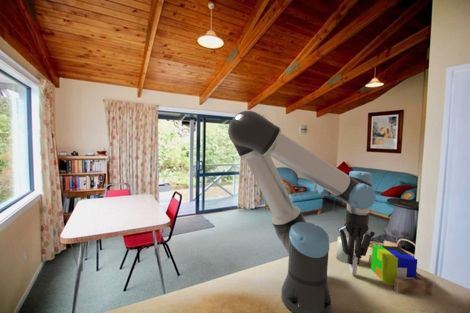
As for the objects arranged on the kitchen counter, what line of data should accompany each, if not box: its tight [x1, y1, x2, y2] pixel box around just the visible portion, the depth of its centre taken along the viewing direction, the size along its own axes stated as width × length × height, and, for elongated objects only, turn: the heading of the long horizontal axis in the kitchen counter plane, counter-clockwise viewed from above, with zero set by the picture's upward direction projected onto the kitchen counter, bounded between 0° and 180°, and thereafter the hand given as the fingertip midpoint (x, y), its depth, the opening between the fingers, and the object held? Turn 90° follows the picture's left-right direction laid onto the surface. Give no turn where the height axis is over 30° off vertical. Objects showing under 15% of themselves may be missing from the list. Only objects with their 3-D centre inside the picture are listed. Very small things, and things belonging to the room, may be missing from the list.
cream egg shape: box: [336, 236, 349, 264], centre depth 96 cm, size 6×6×9 cm
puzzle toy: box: [370, 244, 418, 286], centre depth 84 cm, size 10×10×10 cm
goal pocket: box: [368, 254, 433, 296], centre depth 83 cm, size 11×18×4 cm, turn 177°
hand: (352, 272), depth 84 cm, fingers closed
